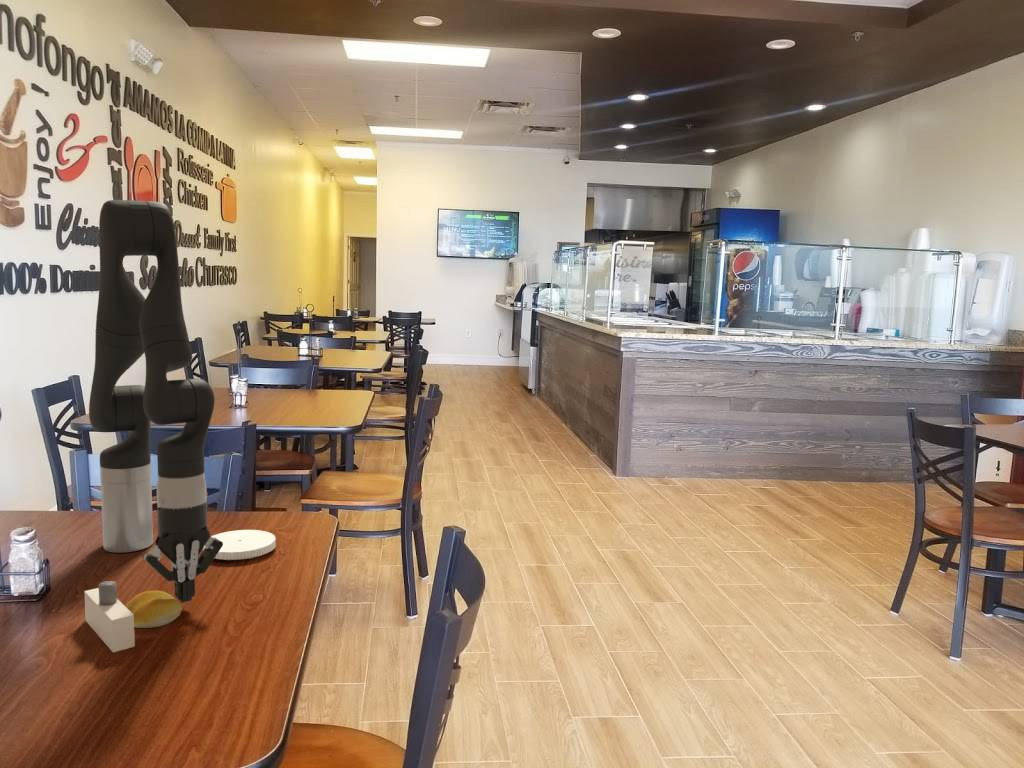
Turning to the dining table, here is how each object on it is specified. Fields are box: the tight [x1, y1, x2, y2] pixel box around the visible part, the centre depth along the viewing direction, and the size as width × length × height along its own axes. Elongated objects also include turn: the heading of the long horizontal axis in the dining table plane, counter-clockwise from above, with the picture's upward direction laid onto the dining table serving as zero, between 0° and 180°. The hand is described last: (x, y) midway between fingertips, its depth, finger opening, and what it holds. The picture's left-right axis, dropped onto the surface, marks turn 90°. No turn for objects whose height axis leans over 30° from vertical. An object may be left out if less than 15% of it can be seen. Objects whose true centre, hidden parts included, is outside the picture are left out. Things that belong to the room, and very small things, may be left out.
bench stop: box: [83, 580, 136, 653], centre depth 118 cm, size 14×3×8 cm, turn 44°
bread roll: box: [124, 589, 182, 629], centre depth 124 cm, size 8×9×4 cm
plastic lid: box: [202, 529, 277, 561], centre depth 156 cm, size 14×14×2 cm
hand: (184, 600), depth 127 cm, fingers closed
